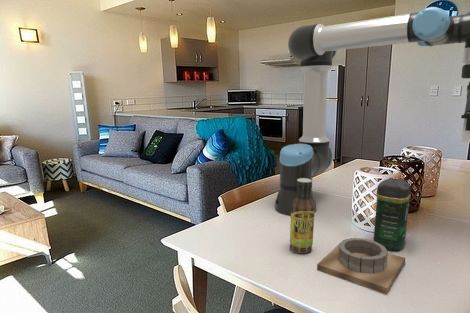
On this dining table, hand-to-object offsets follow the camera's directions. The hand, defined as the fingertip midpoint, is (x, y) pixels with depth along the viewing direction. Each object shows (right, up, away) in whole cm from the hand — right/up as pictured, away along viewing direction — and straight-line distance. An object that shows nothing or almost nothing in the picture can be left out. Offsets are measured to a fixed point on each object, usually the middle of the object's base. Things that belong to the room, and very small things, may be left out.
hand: (469, 139), depth 94 cm
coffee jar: (-24, -30, -2) cm, 39 cm away
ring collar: (-37, -32, -14) cm, 51 cm away
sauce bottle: (-50, -31, -5) cm, 59 cm away
